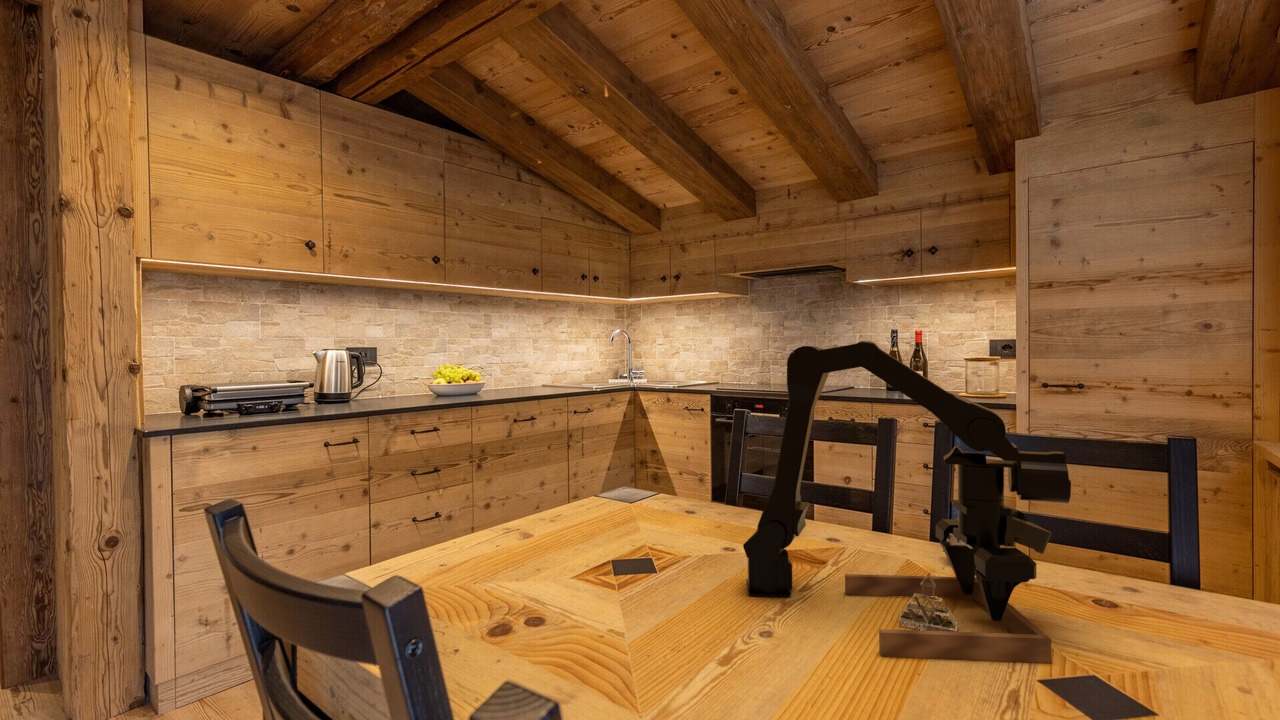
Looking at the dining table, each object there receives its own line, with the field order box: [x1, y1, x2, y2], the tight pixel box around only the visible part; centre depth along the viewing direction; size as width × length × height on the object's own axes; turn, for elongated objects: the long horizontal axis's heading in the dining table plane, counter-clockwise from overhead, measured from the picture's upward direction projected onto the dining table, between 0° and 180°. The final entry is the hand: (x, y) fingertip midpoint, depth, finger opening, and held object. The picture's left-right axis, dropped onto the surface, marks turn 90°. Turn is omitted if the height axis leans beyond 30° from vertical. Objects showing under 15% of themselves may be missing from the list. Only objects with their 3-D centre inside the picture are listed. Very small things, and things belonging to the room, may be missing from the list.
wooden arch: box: [844, 573, 1052, 664], centre depth 88 cm, size 20×21×3 cm
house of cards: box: [899, 572, 959, 632], centre depth 89 cm, size 9×9×8 cm
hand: (981, 606), depth 89 cm, fingers open, 9 cm apart
